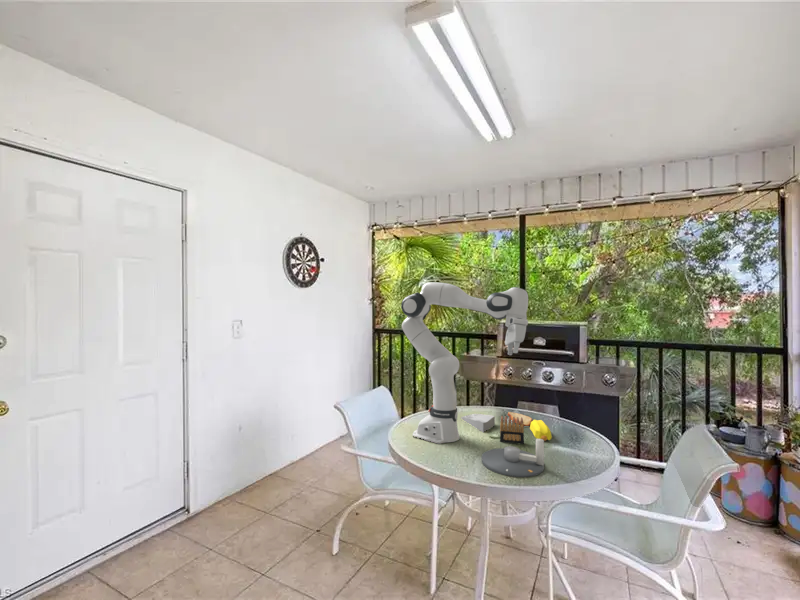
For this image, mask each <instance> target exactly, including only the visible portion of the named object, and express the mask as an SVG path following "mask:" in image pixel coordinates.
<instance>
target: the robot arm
mask: <svg viewBox="0 0 800 600" xmlns="http://www.w3.org/2000/svg"><path fill="white" fill-rule="evenodd" d="M400 304H401V305H400V308H401V311H402V312H403V314H404V315H405V316H406V318H405V319H404V320H403V321H402V323H401V329H402V331H403V332H404V333H403V334H404V335H405V337H406V338H407V340H409V342H410V344H411V345H412V346H413V347H414V349H415V350H416V351H417V353H418V354H419V355H420V356H421V357H423V358H424V359H425V360H427V361H428V362H429V363H430V364H429V367H428V374H429V377H430V380H431V386H432V394H433V395H432V399H433V401H432V405H431V407H429V409H428V410H427V411H428V413H429V414H427V415H426V416H425V417H423V418H422V419H421V420H420V421H419V422H418V425H417V429H415V430H414V431H413V432H412V437H413V436H415V437H418V438H417V439H419V438H421V439H420V440H423V439H424V440H423V441H427V442H430V441H431V442H432V443H435V444H440V445H441V444H444V443H453V442H457V441H458V440H460V439H461V437H460V433H459V429H458V421H457V420H458V407H457V389H456V386H455V385H456V384H455V380H454V379H455V378H454V377H455V375H456V374H457V373H458V372H459V369H460V361H459V359H458V358H457V356H455V355H453V354H452V352H451V351H450V350H448V348H446V347H445V346H444V345H443V344H442V343H441V342H440V341H439V340H438V339H437V338H436V336H435V335H434V334H433V333H432V331H431V330H430V329H429V328H428V327H427V326H426V324H425V322H424V321H425V320H426V318H427V315H428V314H429V313H430V311H431V307H432V305H438V306H441V307H442V306H443V307H448V308H458V309H459V308H460V309H467V310H471V311H475V312H480V313H484V314H487V315H489V316H490V317H491V318H493V319H495V320H500V321H501V320H504V319H505V324H504V326H505V327H507V330H506V333H505V341H504V345H505V346H507V355H509V356H512V355H513V354H519V348H520V346H521V345H520V344H521V343H523V342H524V340H525V337H526V332H527V326H528V324H529V320H528V319H527V318H528V316H527V311H528V309H529V308H528V307H529V295H528V292H527V290H526V289H524V288H522V287H521V288H520V287H517V286H515V287H513V286H512V287H510V288H509V289H507V290H505V291H501V292H500V291H498V292H493V293H491V294H490V295H488V296H487V298H486V299H485V298H480V297H479V298H478V297H475V296H471V295H469V294H468V293H466V292H465V291H464V290H463V289H461V287H459V286H457V285H454V284H451V283H447V282H436V281H435V282H434V281H432V282H431V281H429V282H425V283H424V284H423V285H422V287H421V290H420V293H419V292H415V293H413V294H410V295H407V296H406V297H404V299H403V300H402V302H401V303H400ZM415 437H414V438H415ZM431 442H430V443H431Z"/></svg>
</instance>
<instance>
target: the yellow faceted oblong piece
mask: <svg viewBox="0 0 800 600" xmlns="http://www.w3.org/2000/svg"><path fill="white" fill-rule="evenodd" d="M532 420H533V421H532V422H531V424H530V427H529V430H530V431H531V432H532V434H533V436H534V438H535V440H536V439H543V440H544V442H546V441H548V440H549V441H551V440H552V438H553V436H552V432H551V429H550V428H549V425H547V424H546V423H545V422H544V421H543V420H542V419H538V420H537V419H532Z"/></svg>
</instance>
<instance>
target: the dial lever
mask: <svg viewBox="0 0 800 600" xmlns="http://www.w3.org/2000/svg"><path fill="white" fill-rule="evenodd" d="M520 450H521V449H520V448H519V447H516V446H512V445H511V446H509V445H507V446H504V459H505V460H506V461H509V462H519V461H520V459H523V460H529V461H534V462H536V464H538V465H544V466H545V441H544V440H543V439H536V438H535V454H534V455H529V454H523V453H520ZM535 455H536V456H535Z"/></svg>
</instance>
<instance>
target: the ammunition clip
mask: <svg viewBox="0 0 800 600" xmlns="http://www.w3.org/2000/svg"><path fill="white" fill-rule="evenodd" d="M499 427H500V428H499V429H500V430H499V432H500V434H499V442H500V443H509V444H518V443H520V445H521V444H522V445H524V444H525V438H524V437H525V433H524V432H525V430H524V429H525V427H524V426H523V418H522V417H521V422H520V426H519V418H518V417H517V421H516V424H515V418H514V417H513V420H512V421H511V417H510V416H509V418H508V417H507V415H505V416H503V415H501V417H500V424H499Z"/></svg>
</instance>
